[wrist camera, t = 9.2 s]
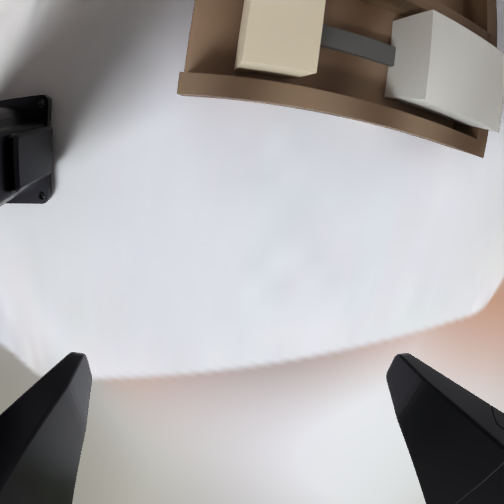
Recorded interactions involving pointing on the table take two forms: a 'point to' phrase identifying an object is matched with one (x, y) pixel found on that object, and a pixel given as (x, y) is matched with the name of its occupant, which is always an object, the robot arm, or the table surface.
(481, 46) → the cream white block dumbbell
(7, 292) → the table surface
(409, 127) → the lane rack
